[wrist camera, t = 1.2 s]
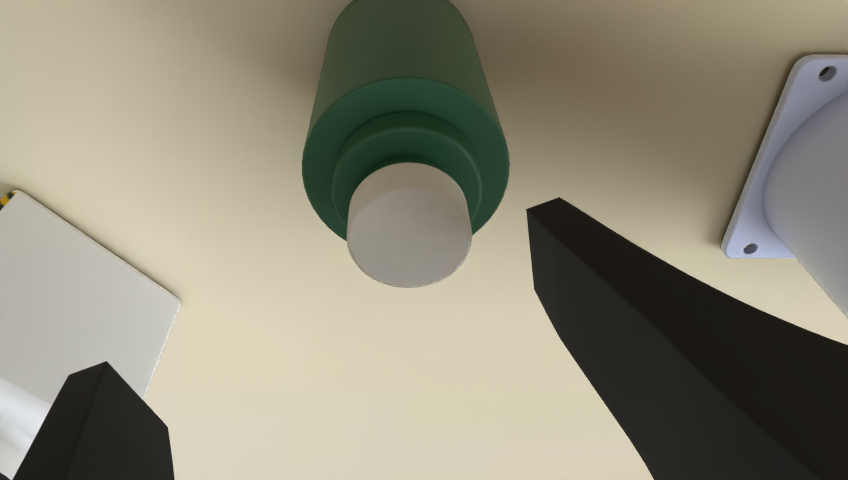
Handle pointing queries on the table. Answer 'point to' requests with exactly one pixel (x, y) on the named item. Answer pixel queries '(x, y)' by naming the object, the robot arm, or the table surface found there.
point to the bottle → (404, 140)
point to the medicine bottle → (66, 318)
